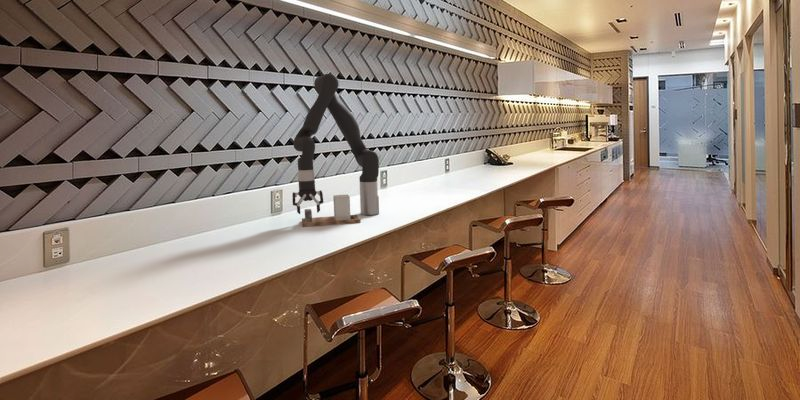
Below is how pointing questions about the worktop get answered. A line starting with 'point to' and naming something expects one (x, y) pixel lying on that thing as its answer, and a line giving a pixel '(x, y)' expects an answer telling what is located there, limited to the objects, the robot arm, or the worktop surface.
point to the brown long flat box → (325, 220)
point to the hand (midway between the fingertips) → (308, 213)
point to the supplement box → (341, 207)
